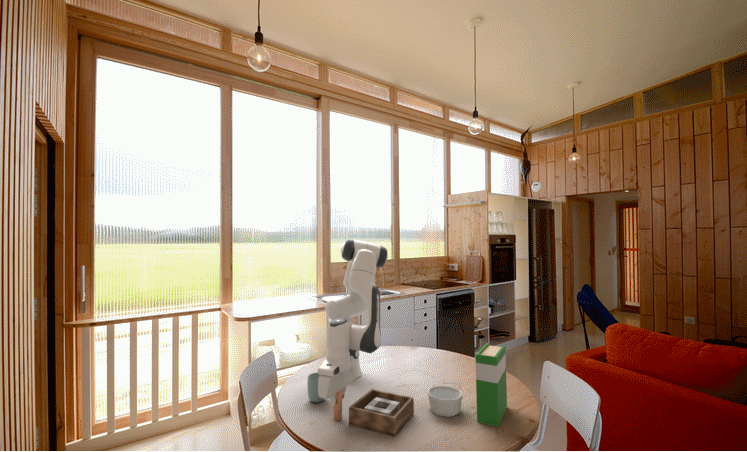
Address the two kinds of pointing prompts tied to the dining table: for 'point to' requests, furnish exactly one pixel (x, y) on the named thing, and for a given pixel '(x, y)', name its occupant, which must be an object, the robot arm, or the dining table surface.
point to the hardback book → (491, 384)
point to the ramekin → (445, 400)
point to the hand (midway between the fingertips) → (337, 401)
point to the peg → (338, 407)
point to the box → (381, 412)
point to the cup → (313, 388)
